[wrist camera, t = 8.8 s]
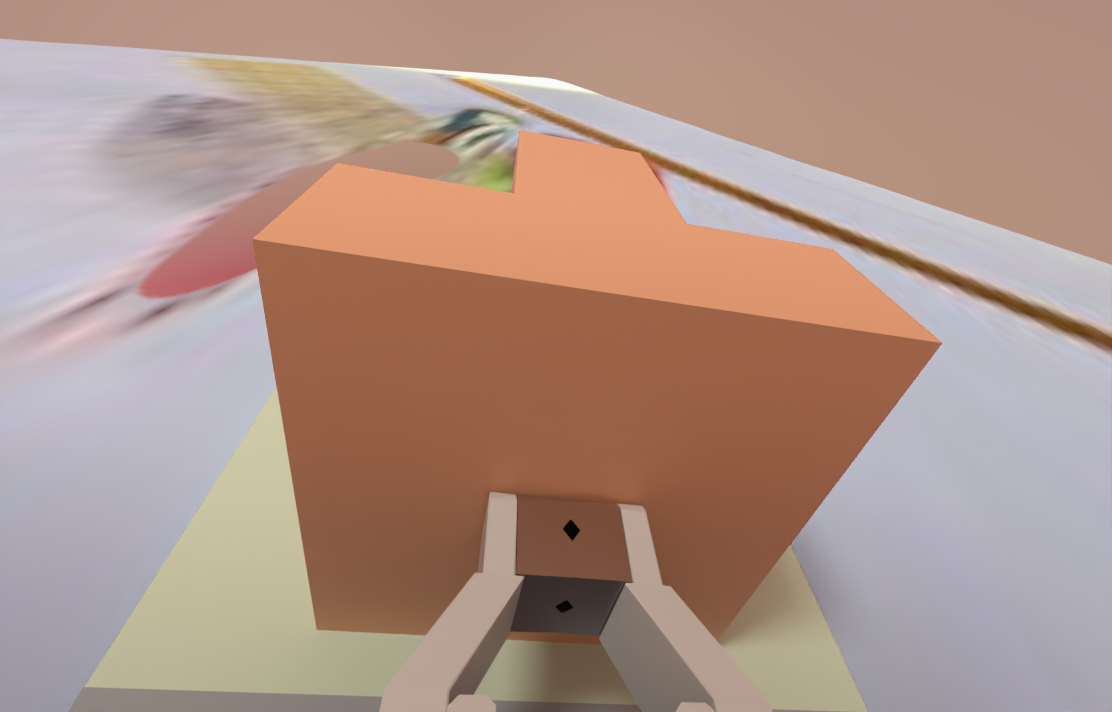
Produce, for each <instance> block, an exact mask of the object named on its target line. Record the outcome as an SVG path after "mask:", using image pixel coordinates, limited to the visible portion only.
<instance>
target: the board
mask: <svg viewBox="0 0 1112 712" xmlns="http://www.w3.org/2000/svg"><path fill="white" fill-rule="evenodd" d="M424 637H425V635H406V634H386V633H366V632H347V631H327V630H317V629H316V623H315V617H314V611H313V605H312V599H311V593H310V587H309V581H308V575H307V568H306V562H305V556H304V550H303V544H302V538H301V532H300V526H299V520H298V514H297V508H296V501H295V495H294V489H293V483H292V477H291V471H290V465H289V459H288V453H287V447H286V441H285V434H284V428H283V422H282V416H281V410H280V404H279V398H278V392H277V387H276V388H275V390H274V392H273V393H272V395H271V396H270V398H269V399H268V401H267V402H266V404H265V406H264V407H263V409H262V410H261V412H260V413H259V415H258V417H257V418H256V420H255V421H254V423H253V424H252V426H251V427H250V429H249V431H248V432H247V434H246V435H245V437H244V438H243V440H242V442H241V443H240V445H239V446H238V448H237V449H236V451H235V452H234V454H233V456H232V457H231V459H230V460H229V462H228V463H227V465H226V467H225V468H224V470H223V471H222V473H221V474H220V476H219V478H218V479H217V481H216V482H215V484H214V485H213V487H212V488H211V490H210V492H209V493H208V495H207V496H206V498H205V499H204V501H203V503H202V504H201V506H200V507H199V509H198V510H197V512H196V513H195V515H194V517H193V518H192V520H191V521H190V523H189V524H188V526H187V528H186V529H185V531H184V532H183V534H182V535H181V537H180V538H179V540H178V542H177V543H176V545H175V546H174V548H173V549H172V551H171V553H170V554H169V556H168V557H167V559H166V560H165V562H164V563H163V565H162V567H161V568H160V570H159V571H158V573H157V574H156V576H155V578H154V579H153V581H152V582H151V584H150V585H149V587H148V589H147V590H146V592H145V593H144V595H143V596H142V598H141V599H140V601H139V603H138V604H137V606H136V607H135V609H134V610H133V612H132V614H131V615H130V617H129V618H128V620H127V621H126V623H125V624H124V626H123V628H122V629H121V631H120V632H119V634H118V635H117V637H116V639H115V640H114V642H113V643H112V645H111V646H110V648H109V649H108V651H107V653H106V654H105V656H104V657H103V659H102V660H101V662H100V664H99V665H98V667H97V668H96V670H95V671H94V673H93V674H92V676H91V678H90V679H89V681H88V682H87V684H86V685H85V687H84V689H83V690H82V692H81V693H80V695H79V696H78V698H77V700H76V701H75V703H74V704H73V706H72V707H71V709H70V710H69V712H379V710H380V706H381V701H382V696H383V692H384V688H385V687H386V685H387V684H388V683H389V682H390V680H391V679H392V678H393V677H394V675H395V674H396V673H397V671H398V670H399V669H400V668H401V666H402V665H403V664H404V662H405V661H406V660H407V659H408V657H409V656H410V655H411V654H412V652H413V651H414V650H415V648H416V647H417V646H418V645H419V643H420V642H421V641H422V639H423V638H424ZM717 642H718V643H719V644H720V645H721V646H722V647H723V649H724V650H725V651H726V652H727V653H728V655H729V656H730V657H731V658H732V659H733V660H734V662H735V663H736V664H737V665H738V666H739V668H740V669H741V670H742V671H743V672H744V673H745V675H746V676H747V677H748V678H749V679H750V681H751V682H752V683H753V684H754V685H755V686H756V688H757V689H758V690H759V691H760V692H761V694H762V695H763V696H764V697H765V698H766V699H767V701H768V702H769V703H770V705H771V708H772V711H773V712H868V710H867V708H866V706H865V704H864V701H863V699H862V697H861V695H860V693H859V691H858V689H857V686H856V684H855V682H854V680H853V678H852V676H851V674H850V672H849V669H848V667H847V665H846V663H845V661H844V659H843V657H842V654H841V652H840V650H839V648H838V646H837V644H836V642H835V639H834V637H833V635H832V633H831V631H830V629H829V627H828V624H827V622H826V620H825V618H824V616H823V614H822V612H821V610H820V607H819V605H818V603H817V601H816V599H815V597H814V595H813V592H812V590H811V588H810V586H809V584H808V582H807V580H806V577H805V575H804V573H803V571H802V569H801V567H800V565H799V563H798V560H797V558H796V556H795V554H794V552H793V550H792V548H791V545H789V547H788V548H787V549H786V551H785V552H784V553H783V555H782V556H781V557H780V559H779V560H778V561H777V563H776V564H775V565H774V567H773V568H772V569H771V571H770V572H769V573H768V575H767V576H766V577H765V579H764V580H763V581H762V582H761V584H760V585H759V586H758V588H757V589H756V590H755V592H754V593H753V594H752V596H751V597H750V598H749V600H748V601H747V602H746V604H745V605H744V606H743V608H742V609H741V610H740V612H739V613H738V614H737V616H736V617H735V618H734V620H733V621H732V622H731V624H730V625H729V626H728V628H727V629H726V630H725V631H724V633H723V634H722V635H721V637H720V638H719V639H718V641H717ZM474 695H487V696H488V697H489V698H490V699H491V700H492V701H493V702H494V704H495V705H496V712H641V710H640V708H639V707H638V705H637V703H636V701H635V700H634V698H633V696H632V695H631V693H630V691H629V690H628V688H627V686H626V684H625V683H624V681H623V679H622V678H621V676H620V674H619V672H618V671H617V669H616V667H615V666H614V664H613V662H612V660H611V659H610V657H609V655H608V654H607V652H606V650H605V648H604V647H603V645H602V644H582V643H562V642H543V641H523V640H506V641H505V643H504V644H503V646H502V648H501V649H500V651H499V653H498V654H497V656H496V658H495V659H494V661H493V663H492V664H491V666H490V668H489V669H488V671H487V673H486V674H485V676H484V678H483V679H482V681H481V683H480V685H479V686H478V688H477V690H476V691H475V693H474Z"/></svg>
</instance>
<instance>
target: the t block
mask: <svg viewBox="0 0 1112 712" xmlns="http://www.w3.org/2000/svg"><path fill="white" fill-rule="evenodd" d="M253 246H254V252H255V258H256V263H257V270H258V276H259V282H260V288H261V294H262V300H263V306H264V313H265V319H266V325H267V331H268V337H269V343H270V349H271V355H272V361H273V367H274V373H275V380H276V386H277V392H278V398H279V404H280V410H281V416H282V422H283V428H284V434H285V441H286V447H287V453H288V459H289V465H290V471H291V477H292V483H293V489H294V495H295V501H296V508H297V514H298V520H299V526H300V532H301V538H302V544H303V550H304V556H305V562H306V568H307V575H308V581H309V587H310V593H311V599H312V605H313V611H314V617H315V623H316V629H317V630H327V631H347V632H366V633H386V634H406V635H425V636H426V634H427V633H428V632H429V631H430V629H431V628H432V627H433V625H434V624H435V623H436V622H437V620H438V619H439V618H440V616H441V615H442V614H443V613H444V611H445V610H446V609H447V608H448V606H449V605H450V604H451V602H452V601H453V600H454V599H455V597H456V596H457V595H458V593H459V592H460V591H461V590H462V588H463V587H464V586H465V585H466V583H467V582H468V581H469V579H470V578H471V577H472V576H473V574H474V573H478V564H479V553H480V546H481V539H482V532H483V525H484V520H485V514H486V508H487V503H488V497H489V493H490V492H499V493H509V494H516V495H517V494H519V495H527V496H536V497H544V498H553V499H561V500H567V499H572V500H585V501H598V502H611V503H616V504H628V505H639V506H643V507H644V509H645V510H646V513H647V517H648V522H649V526H650V531H651V535H652V539H653V544H654V548H655V553H656V557H657V561H658V566H659V570H660V575H661V579H662V583H663V585H666V586H671V587H672V588H673V590H674V591H675V592H676V593H677V594H678V595H679V597H680V598H681V599H682V600H683V601H684V603H685V604H686V605H687V606H688V607H689V608H690V610H691V611H692V612H693V613H694V614H695V616H696V617H697V618H698V619H699V620H700V621H701V623H702V624H703V625H704V626H705V627H706V629H707V630H708V631H709V632H710V633H711V634H712V636H713V637H714V638H715V639H716V640H717V641H718V639H719V638H720V637H721V635H722V634H723V633H724V631H725V630H726V629H727V628H728V626H729V625H730V624H731V622H732V621H733V620H734V618H735V617H736V616H737V614H738V613H739V612H740V610H741V609H742V608H743V606H744V605H745V604H746V602H747V601H748V600H749V598H750V597H751V596H752V594H753V593H754V592H755V590H756V589H757V588H758V586H759V585H760V584H761V582H762V581H763V580H764V579H765V577H766V576H767V575H768V573H769V572H770V571H771V569H772V568H773V567H774V565H775V564H776V563H777V561H778V560H779V559H780V557H781V556H782V555H783V553H784V552H785V551H786V549H787V548H788V547H789V545H790V544H791V543H792V541H793V540H794V539H795V537H796V536H797V535H798V533H799V532H800V531H801V530H802V528H803V527H804V526H805V524H806V523H807V522H808V520H809V519H810V518H811V516H812V515H813V514H814V512H815V511H816V510H817V508H818V507H819V506H820V504H821V503H822V502H823V500H824V499H825V498H826V496H827V495H828V494H829V492H830V491H831V490H832V488H833V487H834V486H835V484H836V483H837V482H838V481H839V479H840V478H841V477H842V475H843V474H844V473H845V471H846V470H847V469H848V467H849V466H850V465H851V463H852V462H853V461H854V459H855V458H856V457H857V455H858V454H859V453H860V451H861V450H862V449H863V447H864V446H865V445H866V443H867V442H868V441H869V439H870V438H871V437H872V435H873V434H874V433H875V432H876V430H877V429H878V428H879V426H880V425H881V424H882V422H883V421H884V420H885V418H886V417H887V416H888V414H889V413H890V412H891V410H892V409H893V408H894V406H895V405H896V404H897V402H898V401H899V400H900V398H901V397H902V396H903V394H904V393H905V392H906V390H907V389H908V388H909V386H910V385H911V384H912V383H913V381H914V380H915V379H916V377H917V376H918V375H919V373H920V372H921V371H922V369H923V368H924V367H925V365H926V364H927V363H928V361H929V360H930V359H931V357H932V356H933V355H934V353H935V352H936V351H937V349H938V348H939V347H940V345H941V344H942V342H940V341H939V340H938V339H937V338H936V337H935V336H934V335H932V334H931V333H930V332H929V331H928V330H927V329H925V328H924V327H923V326H922V325H921V324H920V323H918V322H917V321H916V320H915V319H914V318H913V317H911V316H910V315H909V314H908V313H907V312H906V311H904V310H903V309H902V308H901V307H900V306H899V305H897V304H896V303H895V302H894V301H893V300H892V299H890V298H889V297H888V296H887V295H886V294H885V293H883V292H882V291H881V290H880V289H879V288H878V287H877V286H875V285H874V284H873V283H872V282H871V281H870V280H868V279H867V278H866V277H865V276H864V275H863V274H861V273H860V272H859V271H858V270H857V269H856V268H854V267H853V266H852V265H851V264H850V263H849V262H847V261H846V260H845V259H844V258H843V257H842V256H840V255H839V254H838V253H837V252H836V251H835V250H833V249H829V248H823V247H817V246H811V245H806V244H800V243H794V242H788V241H783V240H777V239H771V238H765V237H760V236H754V235H748V234H742V233H737V232H731V231H725V230H719V229H714V228H708V227H702V226H696V225H691V224H687V223H686V222H685V220H684V219H683V217H682V216H681V214H680V213H679V211H678V210H677V208H676V207H675V205H674V204H673V202H672V201H671V199H670V198H669V196H668V195H667V193H666V192H665V190H664V188H663V187H662V185H661V184H660V182H659V181H658V179H657V178H656V176H655V175H654V173H653V172H652V170H651V169H650V167H649V166H648V164H647V163H646V161H645V160H644V158H643V157H642V155H641V154H640V153H638V152H633V151H627V150H622V149H617V148H612V147H607V146H601V145H596V144H591V143H586V142H580V141H575V140H570V139H565V138H560V137H554V136H549V135H544V134H539V133H534V132H528V131H523V130H520V131H519V139H518V146H517V153H516V160H515V168H514V175H513V182H512V189H511V193H507V192H501V191H495V190H490V189H484V188H478V187H472V186H467V185H461V184H455V183H449V182H444V181H438V180H432V179H426V178H420V177H415V176H409V175H403V174H398V173H392V172H386V171H380V170H375V169H369V168H363V167H357V166H351V165H346V164H339V163H337V164H336V165H335V166H334V167H333V168H332V169H330V170H329V171H328V172H327V173H326V174H325V175H324V176H323V177H322V178H321V179H319V180H318V181H317V182H316V183H315V184H314V185H313V186H311V187H310V188H309V189H308V190H307V191H306V192H305V193H304V194H302V195H301V196H300V197H299V198H298V199H297V200H296V201H295V202H293V203H292V204H291V205H290V206H289V207H288V208H287V209H286V210H284V211H283V212H282V213H281V214H280V215H279V216H278V217H277V218H276V219H274V220H273V221H272V222H271V223H270V224H269V225H268V226H267V227H265V228H264V229H263V230H262V231H261V232H260V233H259V234H258V235H256V236H255V237H254V238H253ZM599 637H600V636H590V635H577V634H565V633H550V632H510V633H509V636H508V637H507V639H506V640H523V641H543V642H562V643H582V644H602V643H601V642H600V640H599Z"/></svg>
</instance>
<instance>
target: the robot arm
mask: <svg viewBox="0 0 1112 712" xmlns="http://www.w3.org/2000/svg"><path fill="white" fill-rule="evenodd" d="M510 632H550V633H565V634H577V635H590V636H600V637H599V640H600V642H601V643H602V645H603V647H604V648H605V650H606V652H607V654H608V655H609V657H610V659H611V660H612V662H613V664H614V666H615V667H616V669H617V671H618V672H619V674H620V676H621V678H622V679H623V681H624V683H625V684H626V686H627V688H628V690H629V691H630V693H631V695H632V696H633V698H634V700H635V701H636V703H637V705H638V707H639V708H640V710H641V712H773V711H772V708H771V705H770V703H769V702H768V701H767V699H766V698H765V697H764V696H763V695H762V694H761V692H760V691H759V690H758V689H757V688H756V686H755V685H754V684H753V683H752V682H751V681H750V679H749V678H748V677H747V676H746V675H745V673H744V672H743V671H742V670H741V669H740V668H739V666H738V665H737V664H736V663H735V662H734V660H733V659H732V658H731V657H730V656H729V655H728V653H727V652H726V651H725V650H724V649H723V647H722V646H721V645H720V644H719V643H718V642H717V640H716V639H715V638H714V637H713V636H712V634H711V633H710V632H709V631H708V630H707V629H706V627H705V626H704V625H703V624H702V623H701V621H700V620H699V619H698V618H697V617H696V616H695V614H694V613H693V612H692V611H691V610H690V608H689V607H688V606H687V605H686V604H685V603H684V601H683V600H682V599H681V598H680V597H679V595H678V594H677V593H676V592H675V591H674V590H673V588H672V587H671V586H666V585H663V583H662V579H661V575H660V570H659V566H658V561H657V557H656V553H655V548H654V544H653V539H652V535H651V531H650V526H649V522H648V517H647V513H646V510H645V509H644V507H643V506H639V505H628V504H616V503H611V502H598V501H585V500H572V499H567V500H561V499H553V498H544V497H536V496H527V495H519V494H517V495H516V494H509V493H499V492H490V493H489V497H488V503H487V508H486V514H485V520H484V525H483V532H482V539H481V546H480V553H479V564H478V573H474V574H473V576H472V577H471V578H470V579H469V581H468V582H467V583H466V585H465V586H464V587H463V588H462V590H461V591H460V592H459V593H458V595H457V596H456V597H455V599H454V600H453V601H452V602H451V604H450V605H449V606H448V608H447V609H446V610H445V611H444V613H443V614H442V615H441V616H440V618H439V619H438V620H437V622H436V623H435V624H434V625H433V627H432V628H431V629H430V631H429V632H428V633H427V634H426V636H425V637H424V638H423V639H422V641H421V642H420V643H419V645H418V646H417V647H416V648H415V650H414V651H413V652H412V654H411V655H410V656H409V657H408V659H407V660H406V661H405V662H404V664H403V665H402V666H401V668H400V669H399V670H398V671H397V673H396V674H395V675H394V677H393V678H392V679H391V680H390V682H389V683H388V684H387V685H386V687H385V688H384V692H383V696H382V701H381V706H380V710H379V712H496V705H495V704H494V702H493V701H492V700H491V699H490V698H489V697H488V696H487V695H474V693H475V691H476V690H477V688H478V686H479V685H480V683H481V681H482V679H483V678H484V676H485V674H486V673H487V671H488V669H489V668H490V666H491V664H492V663H493V661H494V659H495V658H496V656H497V654H498V653H499V651H500V649H501V648H502V646H503V644H504V643H505V641H506V639H507V637H508V636H509V633H510Z"/></svg>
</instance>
